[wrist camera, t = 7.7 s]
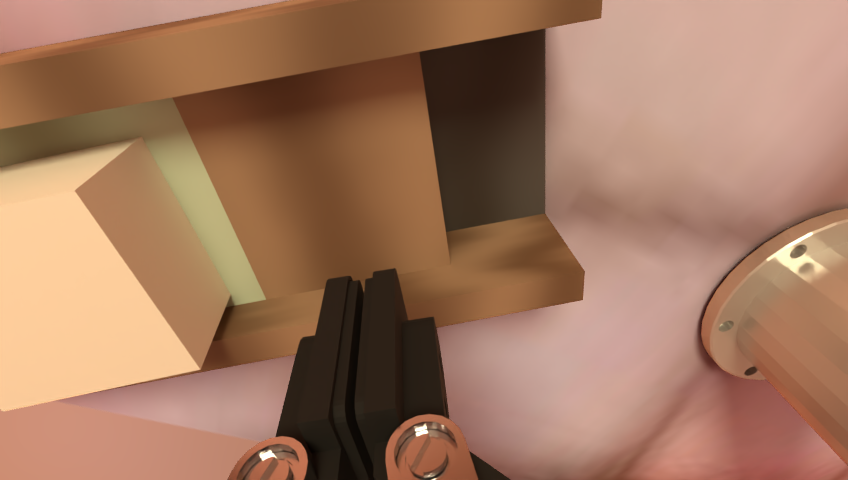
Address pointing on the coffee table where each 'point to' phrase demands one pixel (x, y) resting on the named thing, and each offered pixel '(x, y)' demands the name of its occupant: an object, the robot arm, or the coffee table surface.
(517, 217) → the box
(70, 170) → the cream block
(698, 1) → the coffee table surface
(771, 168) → the coffee table surface
